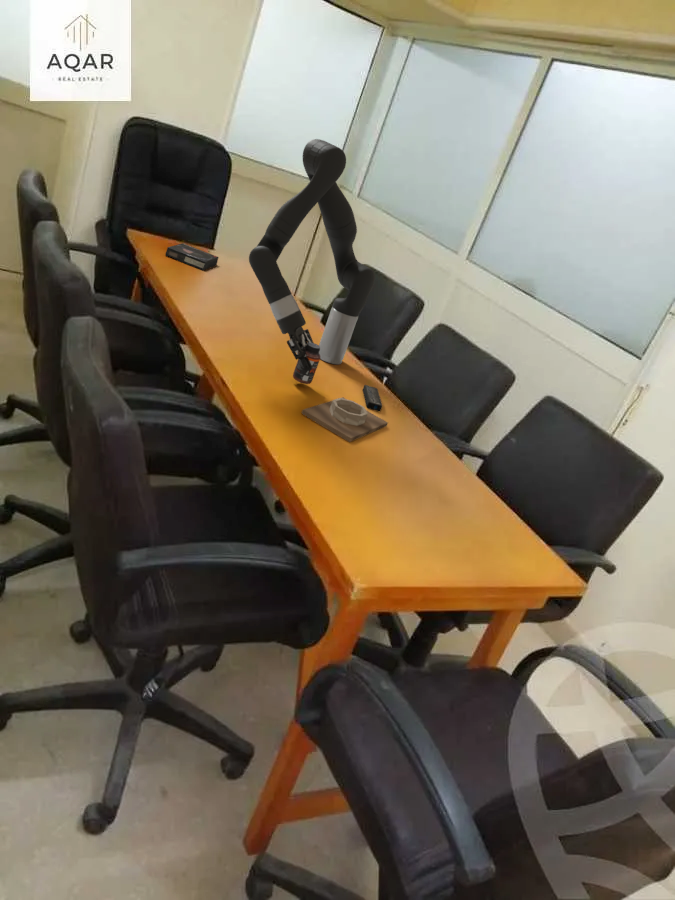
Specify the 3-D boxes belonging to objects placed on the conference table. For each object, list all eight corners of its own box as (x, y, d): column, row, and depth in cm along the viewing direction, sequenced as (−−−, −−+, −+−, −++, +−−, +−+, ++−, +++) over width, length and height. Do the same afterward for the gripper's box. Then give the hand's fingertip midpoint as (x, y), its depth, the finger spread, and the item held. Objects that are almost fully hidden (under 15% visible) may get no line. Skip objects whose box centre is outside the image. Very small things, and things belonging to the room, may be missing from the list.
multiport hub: (375, 394, 217) (377, 388, 216) (380, 413, 205) (382, 406, 204) (361, 390, 217) (364, 384, 216) (366, 409, 204) (368, 402, 203)
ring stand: (341, 400, 202) (346, 388, 200) (386, 426, 196) (391, 413, 194) (301, 413, 183) (305, 399, 181) (349, 442, 177) (355, 428, 176)
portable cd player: (164, 257, 277) (166, 247, 276) (180, 252, 293) (182, 243, 291) (202, 271, 277) (204, 262, 275) (216, 266, 293) (218, 257, 291)
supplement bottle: (308, 386, 198) (321, 351, 194) (289, 379, 199) (301, 343, 194) (313, 381, 204) (325, 346, 199) (295, 373, 204) (306, 338, 199)
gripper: (290, 313, 187) (316, 369, 191) (306, 304, 200) (330, 357, 204) (267, 323, 190) (294, 378, 194) (284, 314, 203) (308, 366, 207)
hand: (312, 367), depth 199 cm, fingers closed on supplement bottle, 6 cm apart
